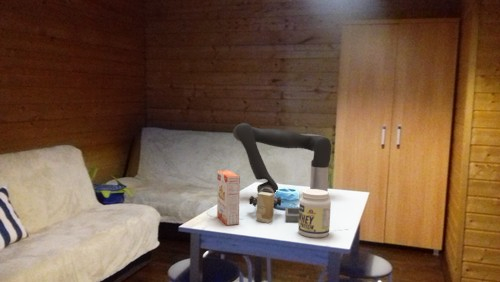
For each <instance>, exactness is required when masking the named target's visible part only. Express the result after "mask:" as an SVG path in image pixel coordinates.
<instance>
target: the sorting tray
mask: <svg viewBox="0 0 500 282" xmlns="http://www.w3.org/2000/svg"><path fill="white" fill-rule="evenodd" d="M284 212H285V214H284V215H285V223H292V224H295V223H296V224H297V223H298V224H299V207H285V211H284Z"/></svg>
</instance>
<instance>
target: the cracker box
mask: <svg viewBox="0 0 500 282" xmlns="http://www.w3.org/2000/svg"><path fill="white" fill-rule="evenodd" d="M240 179H241V177H240V175H238V174H236V173H235V172H233V171H232V170H230V169H228V170H227V169H225V170H224V169H223V170H217V190H216V191H217V194H216V197H217V199H216V201H217V203H216V204H217V207H216V209H217V211H216V216H217V217H218V219H219V220H220V221H222V222H223V224H225V226H234V225H235V226H236V225H240V188H241V186H240V184H241V181H240Z"/></svg>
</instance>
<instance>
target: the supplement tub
mask: <svg viewBox="0 0 500 282" xmlns="http://www.w3.org/2000/svg"><path fill="white" fill-rule="evenodd" d="M301 192H302V194H301V197H300V199H299V206H298V208H299V223H298V232H299V234H300V235H302V236H304V237H308V238H313V239H314V238H325V237H327V236H328V235H329V233H330V222H331V221H330V220H331V205H332V203H331V200H330V199H329V197H330V196H329V194H330V193H329V191H328V192H327V191H324V190H319V189H310V188H309V189H308V188H307V189H303V190H302V191H301Z"/></svg>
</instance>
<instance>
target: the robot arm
mask: <svg viewBox="0 0 500 282" xmlns="http://www.w3.org/2000/svg"><path fill="white" fill-rule="evenodd" d="M232 135H233V137H234V139H236V141H238V142H240V143H241V144H242V146H243V148H244V151H245V152H246V155H247V158H248V163H249V167H250V168H251V171H252V173H253V175H254V177H255V179H256V180H257V181H259V180H265V181H264V182H263V183H262V182H261V183H260V184H258V185H257V187H256V190H257V194H258V193H260V192H267V193H272V194H274V195H275V194H276V193H277V192H276V190H278V191H279V185H278V184H277V182H276V181H275V180H274V179H273V178H272V175H270V173H269V171H268V169H267V166H266V164H265V163H264V160H263V157H262V155H261V153H260V151H259V148H258V145H257V143H260V144H263V145H268V146H271V147H276V148H283V149H303V150H308V151H311V152H313V159H312V160H311V162H310V163H311V164H310V188H309V189H319V190H324V191H327V192H329V191H328V189H329V169H330V166H329V165H330V162H331V156H332V155H331V154H332V142H331V140H330V139H329V138H328V137H326V136H322V135H310V134H309V135H308V134H301V133H297V132H295V131H290V130H287V129H286V130H284V129H280V128H279V129H278V128H259V127H253V126H251V124H249V123H245V122H242V123H239V124H237V125H236V126H234V129H233V130H232ZM275 192H276V193H275ZM248 203H249V205H252V206H253V207H256V208H257V197H254V195H251V196H250V197H249V201H248ZM277 206H279V207H280V206H282V198H281V197H280V196H279V197H277V198H275V197H274V207H273V208H276V207H277Z"/></svg>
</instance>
